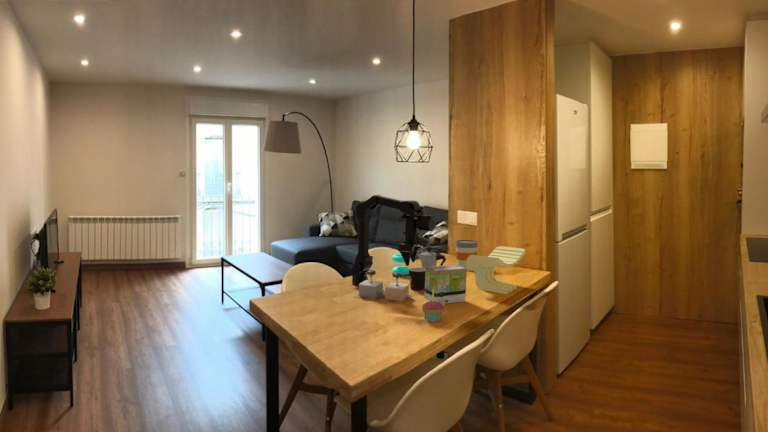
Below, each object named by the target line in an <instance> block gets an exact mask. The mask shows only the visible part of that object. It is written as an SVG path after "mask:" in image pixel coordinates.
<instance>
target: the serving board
mask: <svg viewBox="0 0 768 432" xmlns="http://www.w3.org/2000/svg"><path fill="white" fill-rule="evenodd" d="M412 297H414V295H412V294H409V297H407V298H406V299H405V300H404V301H396V300H387V299H385V291H383V294H382V295H380V296H379V297H377V298H369V297H360V296H359V293H358V294H357V295H355V296H354V297H353V298H355V299H363V300H370V301H371V300H372V301H381V302H390V303H399V304H405V303H406V302H408V301H409V300H410V299H411V298H412Z"/></svg>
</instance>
